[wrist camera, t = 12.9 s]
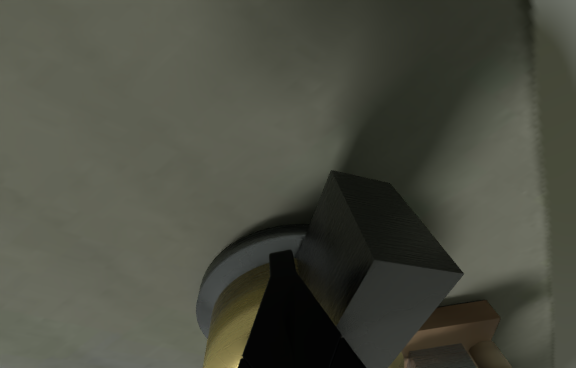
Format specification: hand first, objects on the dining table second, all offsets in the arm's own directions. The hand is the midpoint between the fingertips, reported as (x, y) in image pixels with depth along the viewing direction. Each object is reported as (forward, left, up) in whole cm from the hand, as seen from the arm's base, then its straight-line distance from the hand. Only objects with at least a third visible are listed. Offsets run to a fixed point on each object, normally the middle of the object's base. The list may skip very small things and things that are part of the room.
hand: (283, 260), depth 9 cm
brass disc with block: (-5, -1, -2) cm, 5 cm away
